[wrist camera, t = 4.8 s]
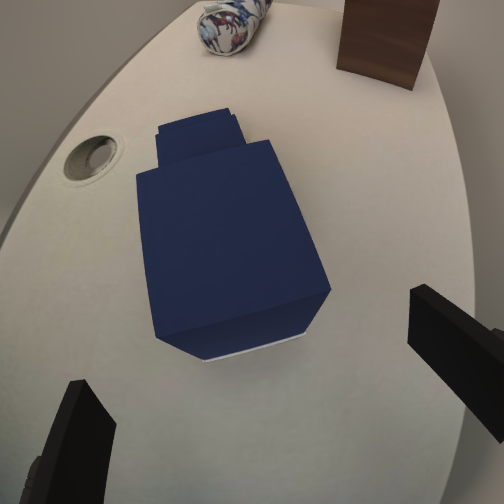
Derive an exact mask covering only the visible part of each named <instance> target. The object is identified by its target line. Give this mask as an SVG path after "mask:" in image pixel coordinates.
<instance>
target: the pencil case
mask: <svg viewBox="0 0 504 504" xmlns="http://www.w3.org/2000/svg"><path fill="white" fill-rule="evenodd" d="M272 1H273V0H223V2H219V3H218V1H217V2H215V4H210V5H206V6H204V9H205V12H204V13H203V15H202V16H201V17H200V19H199V20H198V23H197V29H198V33H199V37H200V39H201V42H202V43H203V45H204V46H205V47H206V49H208V50H209V51H210V52H212V53H214V54H218V55H225V56H230V55H233V54H235V53H237V52H239V51H240V50H242V49H243V48H244V47H246V46H247V45H248V43H249V42H250V40H251V38H252V36H253V35H254V33H255V31H256V29H257V27H258V26H259V24H260V22H261V21H262V19H263V18H264V16H265V15H266V13H267V11H268V10H269V8H270V6H271V4H272Z"/></svg>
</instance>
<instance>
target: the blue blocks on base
mask: <svg viewBox="0 0 504 504" xmlns="http://www.w3.org/2000/svg"><path fill="white" fill-rule="evenodd" d="M158 130H159V134H157V135H155V137H156V147H157V157H158V166H159V167H158V168H155V169H152V170H149V171H146V172H142V173H139V174H137V175H136V183H137V198H138V211H139V222H140V232H141V242H142V251H143V259H144V267H145V274H146V281H147V288H148V295H149V301H150V307H151V313H152V319H153V325H154V330H155V336H156V338H158V339H160V340H162V341H164V342H166V343H168V344H170V345H172V346H174V347H176V348H178V349H180V350H182V351H185V352H187V353H189V354H191V355H193V356H195V357H198V358H200V359H201V361H203V362H205V363H207V362H212V361H216V360H220V359H224V358H228V357H232V356H236V355H239V354H243V353H247V352H251V351H254V350H258V349H261V348H265V347H269V346H272V345H275V344H279V343H282V342H286V341H289V340H292V339H295V338H299V337H302V336H304V335H305V333H306V329H307V327H308V326H309V324H310V323H311V321H312V320H313V318H314V317H315V315H316V313H317V312H318V310H319V309H320V307H321V306H322V304H323V302H324V301H325V299H326V298H327V296H328V294H329V293H330V291H331V287H330V284H329V281H328V279H327V276H326V274H325V271H324V268H323V266H322V263H321V261H320V258H319V256H318V253H317V250H316V248H315V245H314V243H313V240H312V238H311V236H310V233H309V231H308V228H307V226H306V223H305V221H304V218H303V216H302V214H301V211H300V209H299V206H298V204H297V202H296V199H295V197H294V195H293V192H292V190H291V188H290V185H289V183H288V181H287V179H286V176H285V174H284V172H283V170H282V167H281V165H280V163H279V161H278V158H277V156H276V154H275V152H274V150H273V147H272V145H271V143H270V141H269V139H268V140H263V141H258V142H254V143H249V144H246V141H245V139H244V136H243V134H242V131H241V129H240V126H239V124H238V121H237V119H236V116H235V114H233V115H231V113H230V111H229V108H225V109H221V110H216V111H212V112H208V113H204V114H200V115H196V116H192V117H188V118H185V119H181V120H178V121H174V122H171V123H167V124H164V125H160V126H158Z"/></svg>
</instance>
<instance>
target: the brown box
mask: <svg viewBox="0 0 504 504" xmlns="http://www.w3.org/2000/svg"><path fill="white" fill-rule="evenodd" d="M439 2H440V0H345V6H344V15H343V23H342V31H341V38H340V46H339V53H338V60H337V67H336V69H340V70H344V71H348V72H352V73H356V74H360V75H363V76H367V77H370V78H374V79H377V80H381V81H384V82H387V83H390V84H394V85H397V86H400V87H403V88H406V89H408V90H411V91H412V90H413V87H414V84H415V81H416V78H417V75H418V72H419V69H420V66H421V63H422V60H423V57H424V54H425V51H426V47H427V44H428V41H429V38H430V34H431V31H432V28H433V24H434V21H435V17H436V13H437V10H438V5H439Z"/></svg>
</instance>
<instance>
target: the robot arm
mask: <svg viewBox="0 0 504 504" xmlns="http://www.w3.org/2000/svg"><path fill="white" fill-rule="evenodd" d="M407 343H408V344H409V345H410V346H411V347H412V348H413V349H414V351H415V352H416V353H417V354H418V355H419V356H420V357H421V358H422V359H423V360H424V361H425V362H426V363H427V364H428V365H429V366H430V367H431V368H432V369H433V370H434V371H435V372H436V373H437V375H438V376H439V377H440V378H441V379H442V380H443V381H444V382H445V383H446V384H447V385H448V386H449V387H450V388H451V389H452V391H453V392H454V393H455V394H456V395H457V396H458V397H459V398H460V399H461V400H462V401H463V403H464V404H465V405H466V406H467V407H468V408H469V409H470V410H471V411H472V412H473V414H474V415H475V416H476V417H477V418H478V419H479V420H480V421H481V423H482V424H483V425H484V426H485V427H486V428H487V429H488V430H489V432H490V433H491V434H492V435H493V436H494V437H495V439H496V440H497V441H498V442H499V443H502V442H503V441H504V331H501V330H499V329H496V328H494V329H493V330H491V331H490V330H488V329H487V328H486V327H484V326H483V325H482V324H480V323H479V322H478V321H476V320H475V319H474V318H472V317H471V316H470V315H468V314H467V313H466V312H464V311H463V310H461V309H460V308H459V307H457V306H456V305H454V304H453V303H452V302H450V301H449V300H447V299H446V298H445V297H443V296H442V295H440V294H439V293H437V292H436V291H435V290H433V289H432V288H430V287H429V286H427V285H426V284H422V285H420V286H417V287H415V288H412V289H410V308H409V327H408V341H407ZM116 425H117V424H116V423H115V421H114V420H113V419H112V417H111V416H110V415H109V413H108V412H107V411H106V409H105V408H104V407H103V405H102V404H101V402H100V401H99V400H98V398H97V397H96V395H95V394H94V392H93V391H92V389H91V388H90V386H89V385H88V383H87V382H86V380H85V379H83V380H76V381H70V383H69V385H68V387H67V390H66V392H65V395H64V397H63V399H62V402H61V404H60V407H59V409H58V412H57V414H56V417H55V419H54V422H53V425H52V427H51V430H50V433H49V435H48V438H47V441H46V444H45V447H44V450H43V452H42V455H41V456H38V457H37V458H36V459H35V461H34V462H33V463H32V465H31V467H30V470H29V473H28V476H27V478H28V479H26V482H25V488H24V489H23V492H22V496H21V499H20V503H19V504H103V503H104V495H105V488H106V481H107V475H108V468H109V462H110V456H111V451H112V445H113V440H114V435H115V430H116Z"/></svg>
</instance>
